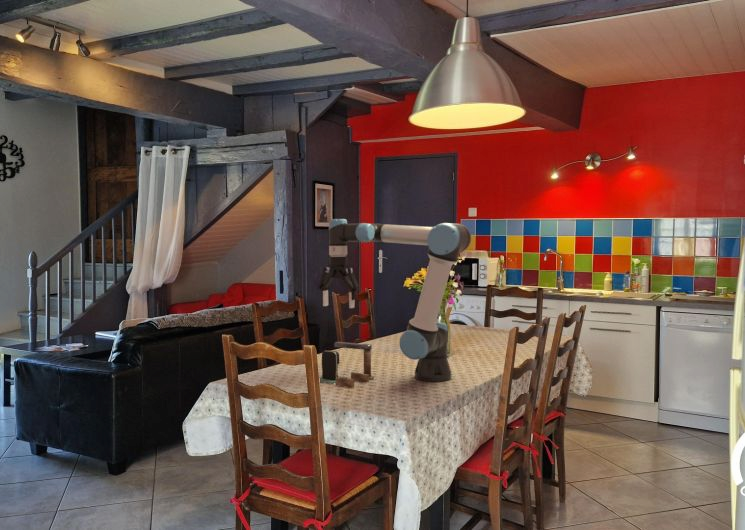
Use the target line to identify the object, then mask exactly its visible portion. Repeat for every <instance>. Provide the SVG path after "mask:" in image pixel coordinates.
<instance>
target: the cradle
mask: <svg viewBox="0 0 745 530" xmlns="http://www.w3.org/2000/svg"><path fill="white" fill-rule="evenodd" d="M341 377H342V376H339V377H336V383H335V386H338V385H340V386H339V387H344V386H346V387H345V388H350V387H351V388H350V389H354V388H355V382H360V381H361V383H366V384H367V383H370V381H371V380H374V378H375V377H374V375H372V350H363V373H362V372H361V373H360V372H355V371H354V372H353V371H352V372H350V378H348V377H346V378H341ZM347 378H348V379H347ZM354 380H355V381H354Z"/></svg>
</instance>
